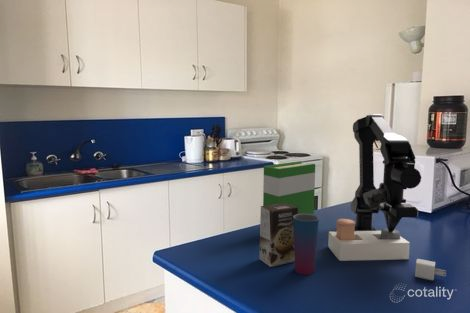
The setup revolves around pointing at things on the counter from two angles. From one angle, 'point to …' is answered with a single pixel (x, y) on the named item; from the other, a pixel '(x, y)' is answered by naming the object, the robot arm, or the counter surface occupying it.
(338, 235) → the terracotta plunger
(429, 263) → the usb wall charger
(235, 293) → the counter surface
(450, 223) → the counter surface
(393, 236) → the charcoal plunger
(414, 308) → the counter surface
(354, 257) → the tray
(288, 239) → the brown cookie box
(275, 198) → the hardback book
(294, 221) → the cup
